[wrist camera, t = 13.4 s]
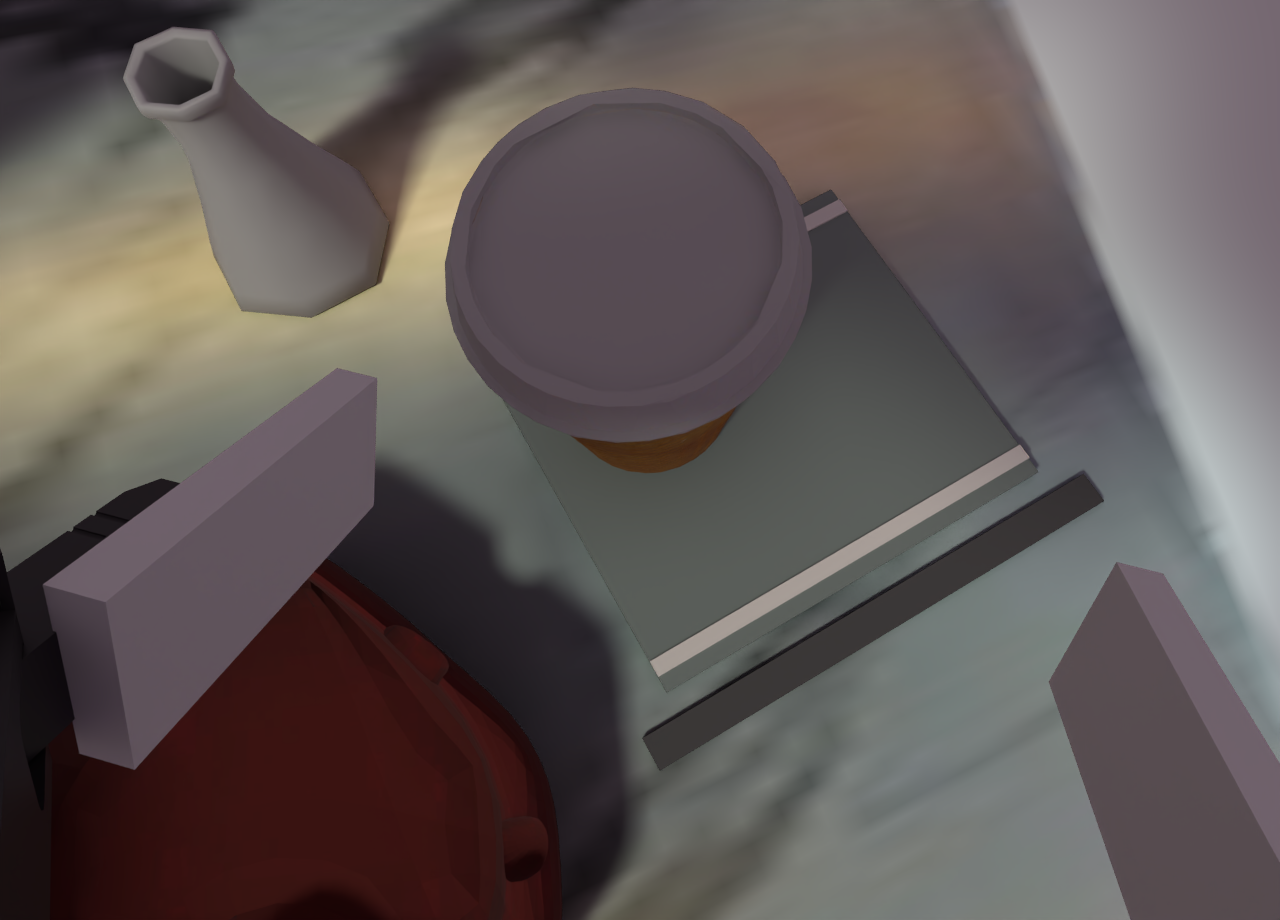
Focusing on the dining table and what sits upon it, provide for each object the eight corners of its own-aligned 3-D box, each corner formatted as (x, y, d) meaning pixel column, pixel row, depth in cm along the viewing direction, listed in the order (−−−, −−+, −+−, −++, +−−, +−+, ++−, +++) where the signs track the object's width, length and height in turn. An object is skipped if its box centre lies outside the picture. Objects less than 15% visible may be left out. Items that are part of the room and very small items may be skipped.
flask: (210, 185, 36) (51, -5, 26) (380, 153, 36) (283, -46, 27) (224, 338, 34) (56, 192, 24) (402, 302, 34) (307, 145, 25)
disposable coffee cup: (773, 278, 33) (815, 68, 21) (774, 519, 31) (822, 430, 19) (532, 278, 34) (446, 74, 22) (516, 513, 31) (412, 424, 20)
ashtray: (546, 527, 32) (528, 495, 27) (581, 1023, 27) (567, 1090, 22) (68, 575, 31) (-37, 551, 27) (21, 1086, 27) (-116, 1168, 22)
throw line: (642, 738, 29) (642, 738, 29) (1080, 475, 32) (1084, 473, 32) (659, 770, 29) (659, 770, 29) (1100, 502, 32) (1103, 501, 31)
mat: (487, 372, 33) (485, 367, 33) (829, 195, 35) (831, 188, 35) (666, 692, 30) (667, 692, 29) (1033, 474, 32) (1039, 471, 31)
